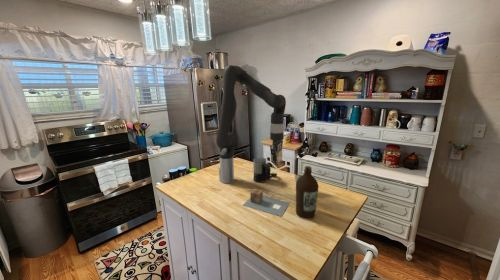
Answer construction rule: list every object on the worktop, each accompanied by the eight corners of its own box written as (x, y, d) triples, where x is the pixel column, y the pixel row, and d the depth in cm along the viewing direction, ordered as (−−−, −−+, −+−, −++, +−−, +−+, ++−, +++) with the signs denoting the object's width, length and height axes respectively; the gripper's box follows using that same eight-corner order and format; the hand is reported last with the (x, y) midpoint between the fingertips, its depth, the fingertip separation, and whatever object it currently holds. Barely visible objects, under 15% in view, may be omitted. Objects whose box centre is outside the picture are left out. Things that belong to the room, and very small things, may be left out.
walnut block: (250, 201, 116) (250, 192, 114) (254, 197, 120) (254, 188, 118) (258, 204, 113) (258, 194, 112) (262, 200, 117) (262, 190, 116)
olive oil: (291, 209, 109) (293, 164, 103) (309, 206, 111) (312, 162, 105) (300, 221, 99) (303, 172, 93) (320, 218, 101) (324, 170, 95)
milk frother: (250, 180, 143) (250, 160, 139) (261, 172, 155) (261, 154, 152) (268, 185, 135) (269, 164, 131) (279, 177, 148) (279, 157, 144)
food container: (291, 191, 127) (292, 176, 125) (294, 187, 132) (294, 172, 130) (312, 196, 121) (313, 180, 119) (314, 191, 127) (315, 176, 124)
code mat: (242, 205, 113) (242, 205, 113) (254, 193, 125) (254, 193, 125) (281, 216, 103) (281, 216, 103) (289, 202, 115) (289, 202, 115)
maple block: (270, 161, 120) (270, 151, 118) (274, 158, 124) (274, 148, 122) (279, 162, 117) (279, 152, 116) (282, 159, 122) (282, 150, 120)
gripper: (275, 128, 124) (274, 155, 128) (265, 133, 112) (265, 162, 116) (287, 129, 121) (286, 157, 125) (278, 134, 108) (278, 165, 113)
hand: (276, 159), depth 121 cm, fingers closed on maple block, 5 cm apart
